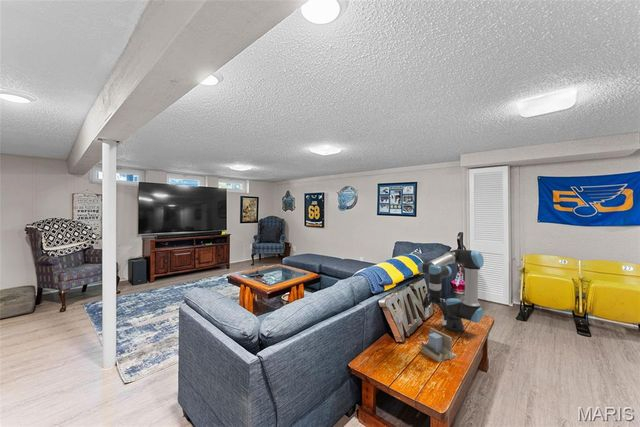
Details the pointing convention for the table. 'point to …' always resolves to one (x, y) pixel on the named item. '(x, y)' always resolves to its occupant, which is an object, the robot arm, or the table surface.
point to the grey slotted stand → (442, 354)
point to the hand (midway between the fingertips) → (435, 320)
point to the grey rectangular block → (435, 341)
